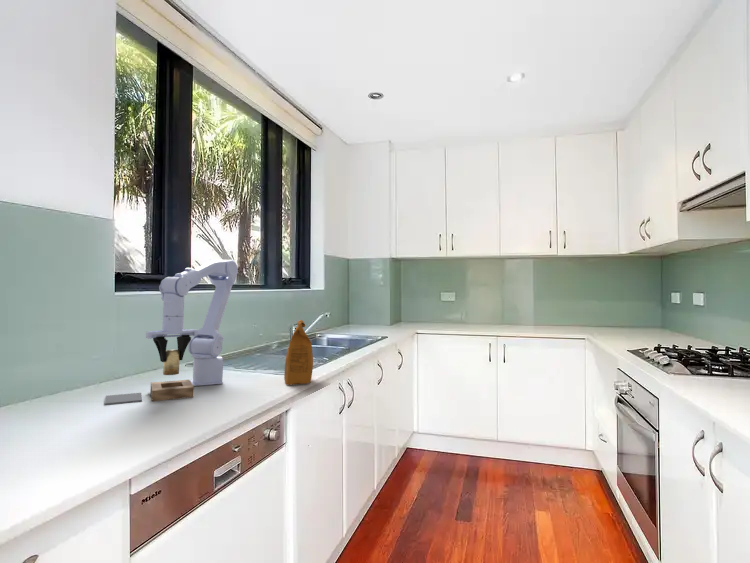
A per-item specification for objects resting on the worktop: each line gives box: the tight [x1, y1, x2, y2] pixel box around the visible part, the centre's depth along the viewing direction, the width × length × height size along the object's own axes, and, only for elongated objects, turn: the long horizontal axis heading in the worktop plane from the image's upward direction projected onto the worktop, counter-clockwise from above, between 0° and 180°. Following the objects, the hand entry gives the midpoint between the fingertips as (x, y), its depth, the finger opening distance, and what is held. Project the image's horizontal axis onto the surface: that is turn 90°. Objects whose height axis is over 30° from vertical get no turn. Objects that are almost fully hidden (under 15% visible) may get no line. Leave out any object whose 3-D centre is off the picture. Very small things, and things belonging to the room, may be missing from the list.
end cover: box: [162, 348, 181, 376], centre depth 127 cm, size 4×4×7 cm
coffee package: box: [283, 319, 314, 386], centre depth 149 cm, size 10×12×22 cm
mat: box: [104, 392, 143, 406], centre depth 121 cm, size 9×9×1 cm
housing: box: [149, 379, 195, 402], centre depth 127 cm, size 11×11×3 cm
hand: (171, 360), depth 127 cm, fingers closed on end cover, 4 cm apart
